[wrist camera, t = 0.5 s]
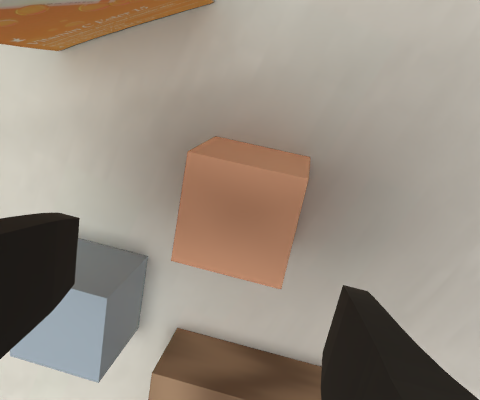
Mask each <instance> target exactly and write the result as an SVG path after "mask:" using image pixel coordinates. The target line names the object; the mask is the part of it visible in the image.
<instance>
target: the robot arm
mask: <svg viewBox="0 0 480 400" xmlns="http://www.w3.org/2000/svg"><path fill="white" fill-rule="evenodd" d="M78 231H79V218H77V217H73V216H70V215H66V214H62V213H40V214H30V215H22V216H15V217H8V218H1V219H0V359H1V358H2V357H3V356H4V355H5V354H6V353H8V352H9V351H10V350H11V349H12V348H13V347H14V346H15V345H16V344H17V343H19V342H20V341H21V340H22V339H23V338H24V337H25V336H26V335H27V334H29V333H30V332H31V331H32V330H33V329H34V328H35V327H36V326H37V325H38V324H39V323H40V322H42V321H43V320H44V319H45V318H46V317H47V316H48V315H49V314H50V313H51V312H52V311H53V310H54V309H55V308H56V306H57V305H58V304H59V303H60V302H61V301H62V299H63V298H64V297H65V296H66V294H67V293H68V292H69V291H70V289H71V288H72V287H73V285H74V284H75V272H76V258H77V244H78ZM321 400H479V399H478V398H476V397H475V396H474V395H473V394H472V393H470V392H469V391H468V390H467V389H465V388H464V387H463V386H462V385H461V384H459V383H458V382H457V381H456V380H455V379H453V378H452V377H451V376H450V375H449V374H448V373H447V372H445V371H444V370H443V369H442V368H441V367H440V366H439V365H438V364H437V363H436V362H435V361H434V360H433V359H432V358H431V357H430V356H429V355H427V354H426V353H425V352H424V351H423V350H422V349H421V348H420V347H419V346H418V345H417V344H416V343H415V342H414V341H413V340H412V338H411V337H410V336H409V335H408V334H407V333H406V332H405V331H404V330H403V329H402V328H401V327H400V326H399V325H398V323H397V322H396V321H395V320H394V319H393V318H392V317H391V316H390V315H389V313H388V312H387V311H386V310H385V309H384V308H383V307H382V306H381V305H380V303H379V302H378V301H377V300H376V299H375V298H374V297H373V296H372V295H371V294H370V293H369V292H368V291H364V290H360V289H356V288H352V287H348V286H344V285H343V287H342V290H341V294H340V297H339V300H338V304H337V307H336V310H335V314H334V317H333V320H332V324H331V327H330V330H329V334H328V337H327V340H326V343H325V347H324V350H323V357H322V371H321Z"/></svg>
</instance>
